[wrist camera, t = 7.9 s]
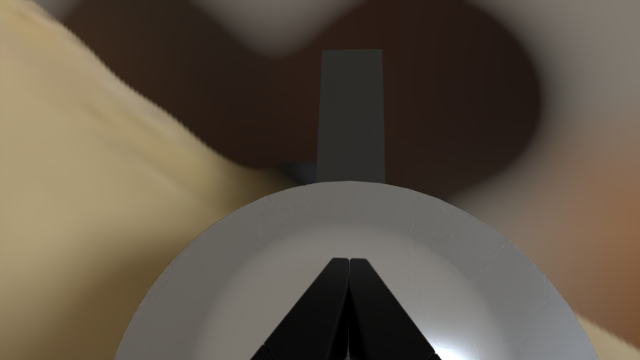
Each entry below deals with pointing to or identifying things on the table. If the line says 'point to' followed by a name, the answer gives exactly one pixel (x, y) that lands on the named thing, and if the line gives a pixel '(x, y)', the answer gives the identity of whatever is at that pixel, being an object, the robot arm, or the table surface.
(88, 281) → the table surface
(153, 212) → the table surface
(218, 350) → the cooker lid
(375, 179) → the pressure cooker pot
